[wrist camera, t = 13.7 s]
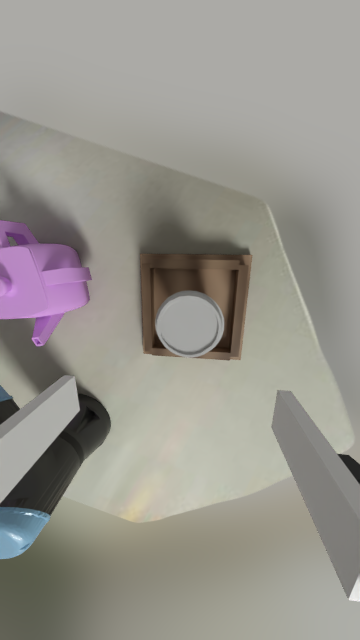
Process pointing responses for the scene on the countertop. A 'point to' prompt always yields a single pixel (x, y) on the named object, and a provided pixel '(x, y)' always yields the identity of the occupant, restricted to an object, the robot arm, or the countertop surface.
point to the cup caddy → (202, 276)
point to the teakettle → (39, 280)
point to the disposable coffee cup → (189, 323)
